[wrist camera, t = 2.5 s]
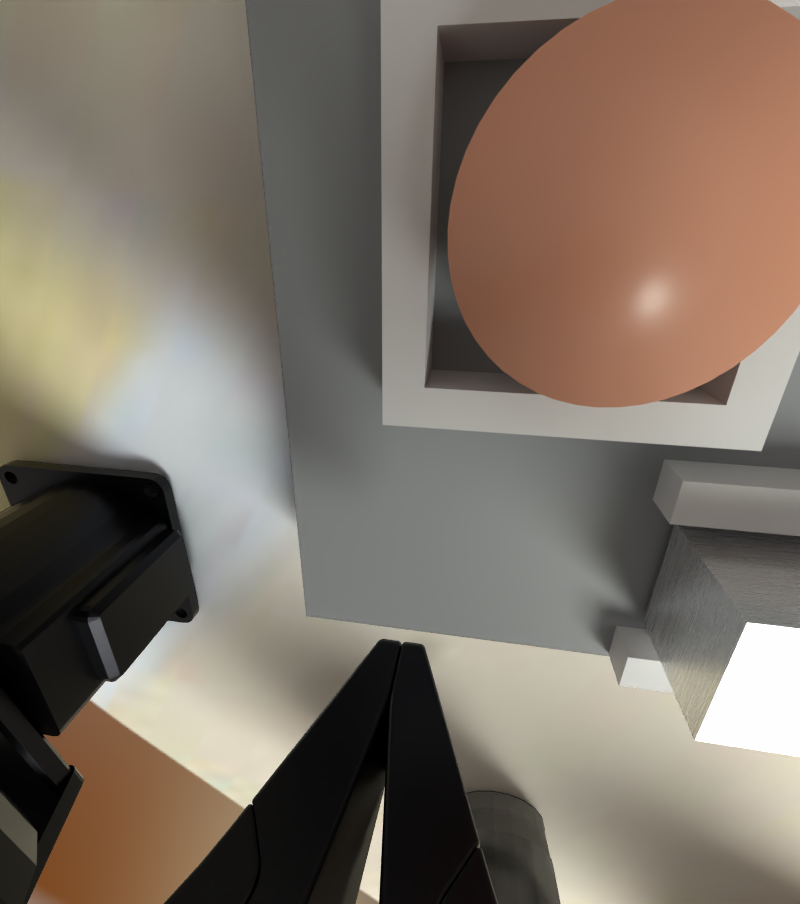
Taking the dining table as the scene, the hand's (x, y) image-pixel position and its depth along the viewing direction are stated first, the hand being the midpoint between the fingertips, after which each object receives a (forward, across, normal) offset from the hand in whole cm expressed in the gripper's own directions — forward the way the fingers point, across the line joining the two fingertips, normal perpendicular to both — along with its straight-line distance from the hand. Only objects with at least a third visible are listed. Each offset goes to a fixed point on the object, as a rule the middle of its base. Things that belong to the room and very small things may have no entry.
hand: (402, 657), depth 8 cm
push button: (+2, -3, -7) cm, 8 cm away
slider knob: (+3, -8, 0) cm, 8 cm away
